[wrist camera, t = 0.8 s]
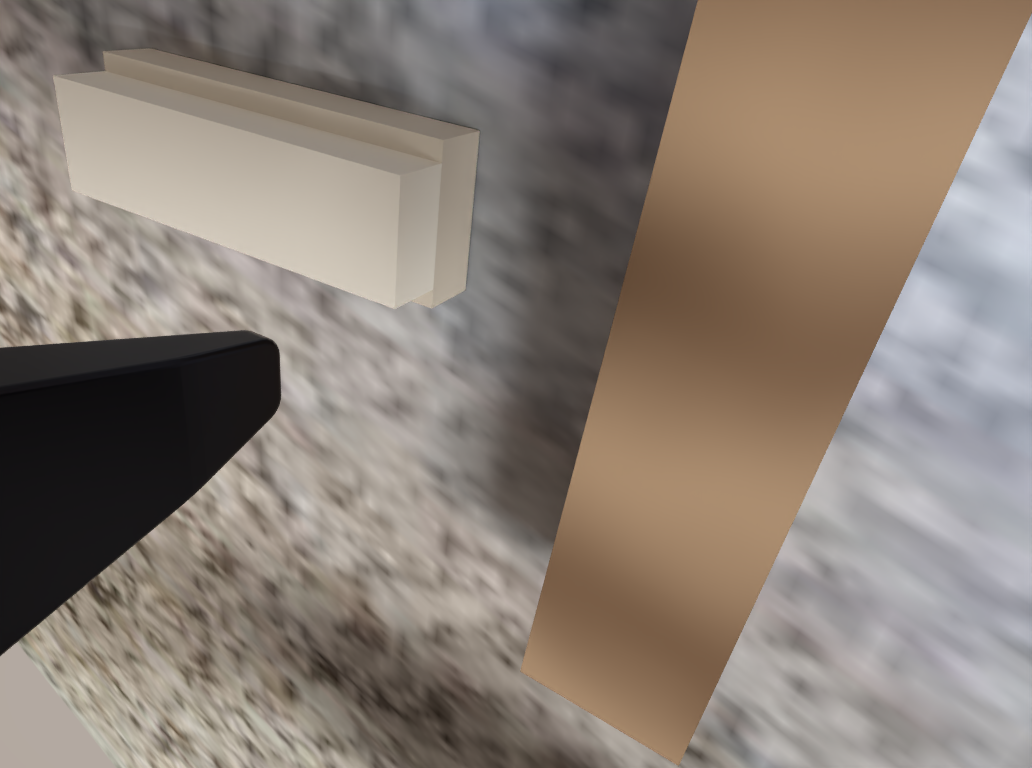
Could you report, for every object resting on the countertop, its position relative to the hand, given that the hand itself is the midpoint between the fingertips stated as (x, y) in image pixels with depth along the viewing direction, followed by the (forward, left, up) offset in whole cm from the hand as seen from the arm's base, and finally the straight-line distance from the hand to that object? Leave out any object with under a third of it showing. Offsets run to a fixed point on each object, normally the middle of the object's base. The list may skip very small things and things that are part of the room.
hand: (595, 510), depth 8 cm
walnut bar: (0, 0, -10) cm, 10 cm away
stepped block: (-1, +13, -10) cm, 16 cm away
